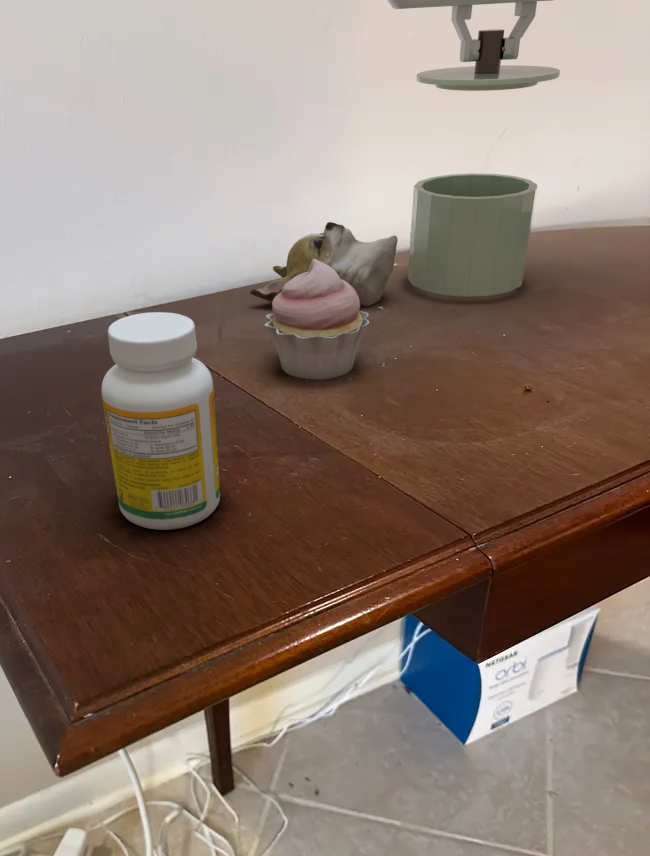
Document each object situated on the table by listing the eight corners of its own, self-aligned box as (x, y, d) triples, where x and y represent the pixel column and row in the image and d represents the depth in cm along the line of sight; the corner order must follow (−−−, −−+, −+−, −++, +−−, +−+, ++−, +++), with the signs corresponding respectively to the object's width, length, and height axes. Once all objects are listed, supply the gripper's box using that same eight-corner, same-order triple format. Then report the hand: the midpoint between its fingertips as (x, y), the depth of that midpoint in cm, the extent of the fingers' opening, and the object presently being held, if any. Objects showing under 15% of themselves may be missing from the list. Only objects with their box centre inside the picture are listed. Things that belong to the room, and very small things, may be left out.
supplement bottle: (181, 544, 52) (161, 355, 45) (97, 516, 55) (66, 336, 48) (241, 493, 57) (231, 316, 50) (160, 470, 60) (140, 300, 53)
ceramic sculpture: (389, 232, 78) (242, 237, 83) (389, 320, 83) (250, 320, 88) (405, 208, 87) (270, 213, 91) (404, 289, 91) (276, 290, 96)
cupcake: (281, 347, 79) (279, 241, 73) (377, 355, 76) (382, 246, 71) (251, 386, 72) (246, 272, 66) (355, 396, 69) (359, 278, 63)
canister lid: (533, 74, 86) (539, 23, 83) (579, 88, 75) (588, 29, 72) (404, 81, 86) (407, 30, 84) (431, 96, 75) (435, 37, 72)
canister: (504, 265, 98) (516, 170, 92) (537, 298, 87) (553, 194, 82) (399, 270, 98) (405, 176, 92) (419, 304, 88) (427, 201, 82)
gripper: (611, -125, 74) (583, 52, 82) (387, -112, 74) (379, 63, 82) (640, -133, 69) (607, 56, 77) (399, -119, 69) (390, 68, 77)
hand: (487, 60), depth 79 cm, fingers closed on canister lid, 2 cm apart
